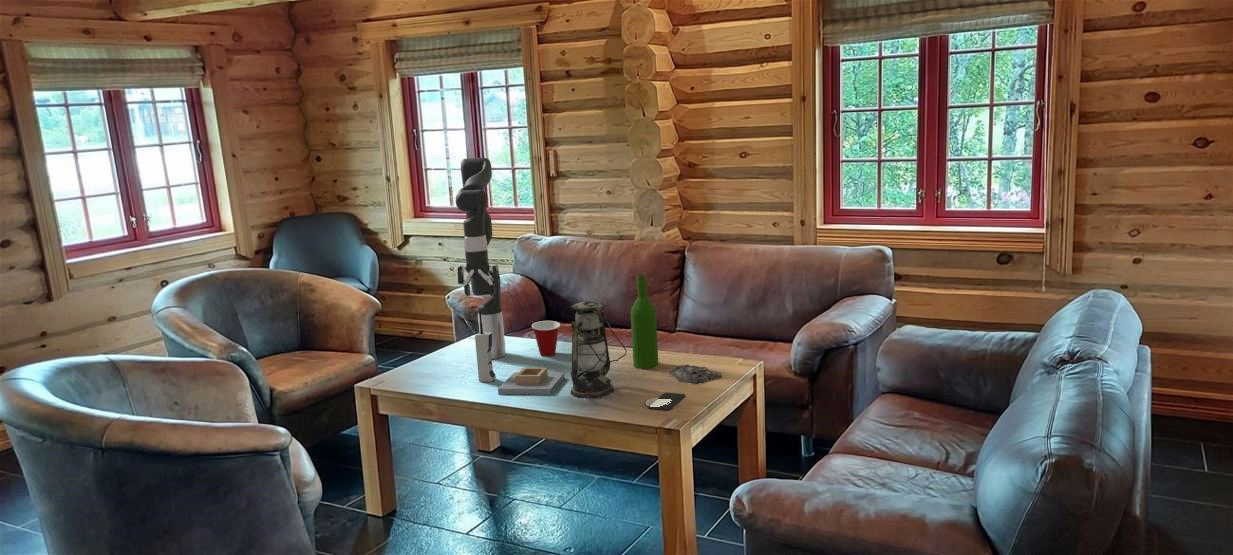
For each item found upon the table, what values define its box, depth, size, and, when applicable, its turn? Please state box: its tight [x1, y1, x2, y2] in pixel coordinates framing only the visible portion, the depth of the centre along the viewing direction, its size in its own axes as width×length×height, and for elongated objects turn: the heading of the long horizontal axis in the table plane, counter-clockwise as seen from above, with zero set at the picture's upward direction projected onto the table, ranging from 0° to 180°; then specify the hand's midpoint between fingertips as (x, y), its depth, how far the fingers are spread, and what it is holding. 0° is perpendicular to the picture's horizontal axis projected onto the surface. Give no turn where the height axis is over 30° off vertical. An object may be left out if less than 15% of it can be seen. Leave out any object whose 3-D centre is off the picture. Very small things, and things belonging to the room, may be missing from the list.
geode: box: [669, 364, 723, 385], centre depth 300 cm, size 19×4×15 cm
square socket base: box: [497, 367, 566, 396], centre depth 300 cm, size 18×18×5 cm
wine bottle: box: [630, 274, 659, 370], centre depth 313 cm, size 9×9×32 cm
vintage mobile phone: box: [474, 311, 497, 383], centre depth 307 cm, size 4×5×25 cm
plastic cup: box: [531, 320, 561, 357], centre depth 337 cm, size 11×11×12 cm
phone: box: [647, 392, 686, 412], centre depth 276 cm, size 7×1×15 cm
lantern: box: [569, 300, 627, 399], centre depth 287 cm, size 19×19×30 cm
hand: (480, 295), depth 304 cm, fingers open, 8 cm apart
